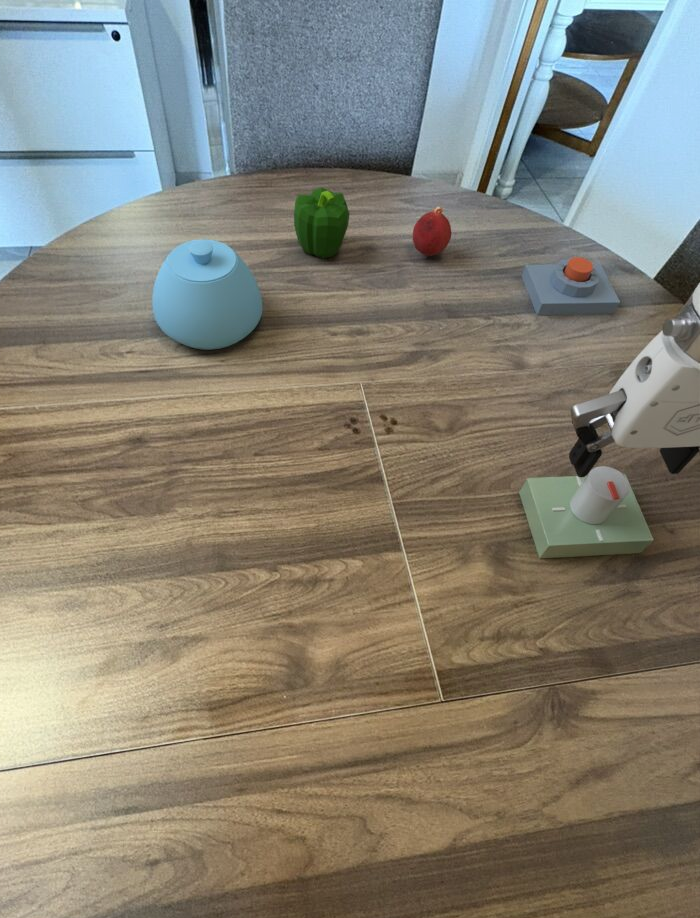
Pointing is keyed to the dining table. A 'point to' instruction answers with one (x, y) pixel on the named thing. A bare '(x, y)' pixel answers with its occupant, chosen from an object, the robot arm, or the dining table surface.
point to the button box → (568, 291)
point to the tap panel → (579, 522)
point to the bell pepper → (321, 222)
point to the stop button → (578, 269)
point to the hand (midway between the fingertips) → (622, 464)
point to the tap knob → (599, 495)
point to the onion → (432, 233)
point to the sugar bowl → (206, 296)
